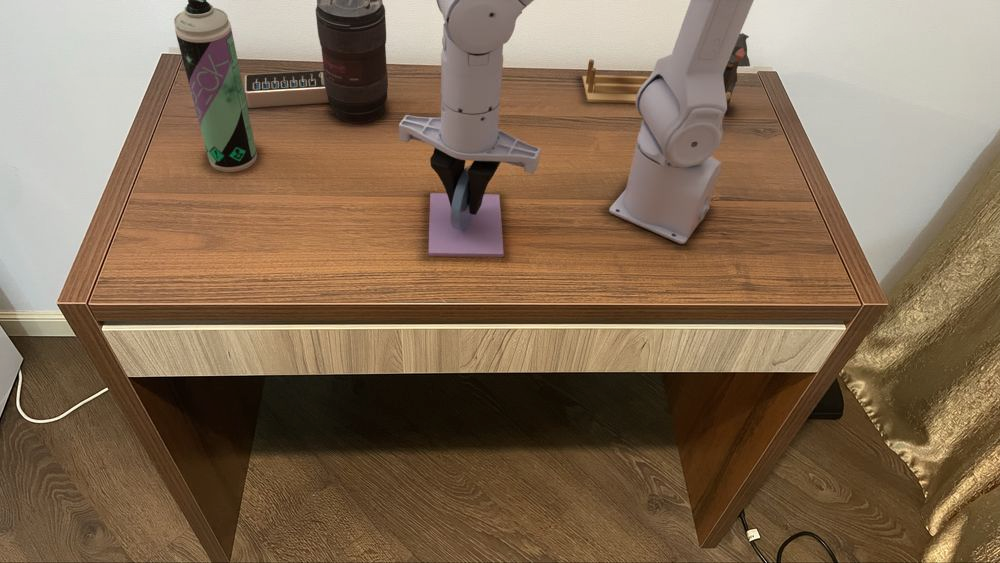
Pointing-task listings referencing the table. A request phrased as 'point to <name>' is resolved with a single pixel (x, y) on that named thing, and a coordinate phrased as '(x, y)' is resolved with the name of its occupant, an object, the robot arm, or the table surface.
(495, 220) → the mat
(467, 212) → the plate
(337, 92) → the camera lens
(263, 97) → the multiport hub
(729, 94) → the wizard figurine
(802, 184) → the table surface
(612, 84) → the rack
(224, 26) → the spray can
